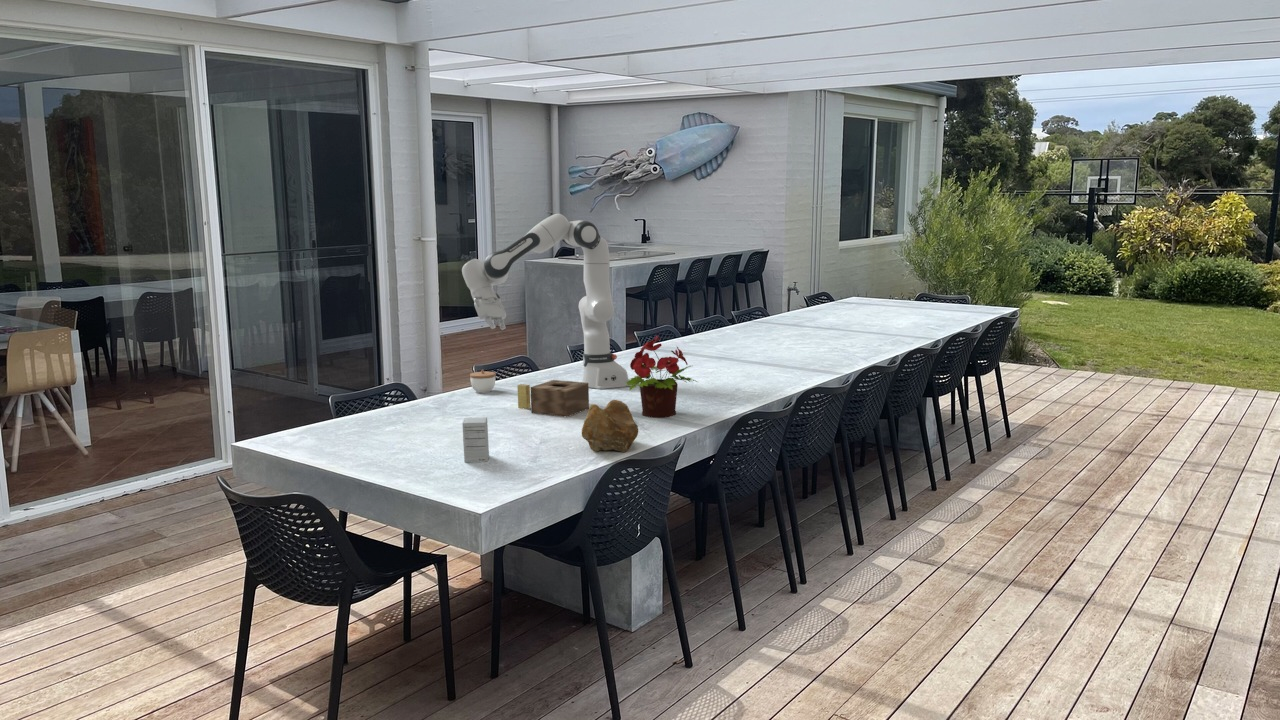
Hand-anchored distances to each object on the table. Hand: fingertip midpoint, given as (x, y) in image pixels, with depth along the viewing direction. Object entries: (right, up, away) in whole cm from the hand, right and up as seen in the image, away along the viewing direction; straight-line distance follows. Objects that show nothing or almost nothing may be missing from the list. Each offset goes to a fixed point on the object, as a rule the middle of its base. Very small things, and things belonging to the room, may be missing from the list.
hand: (498, 328), depth 381 cm
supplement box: (+5, -44, -82) cm, 94 cm away
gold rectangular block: (+11, -31, -10) cm, 35 cm away
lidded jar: (-10, -26, +23) cm, 36 cm away
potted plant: (+63, -33, -26) cm, 76 cm away
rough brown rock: (+48, -41, -72) cm, 96 cm away
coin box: (+26, -32, -16) cm, 44 cm away
